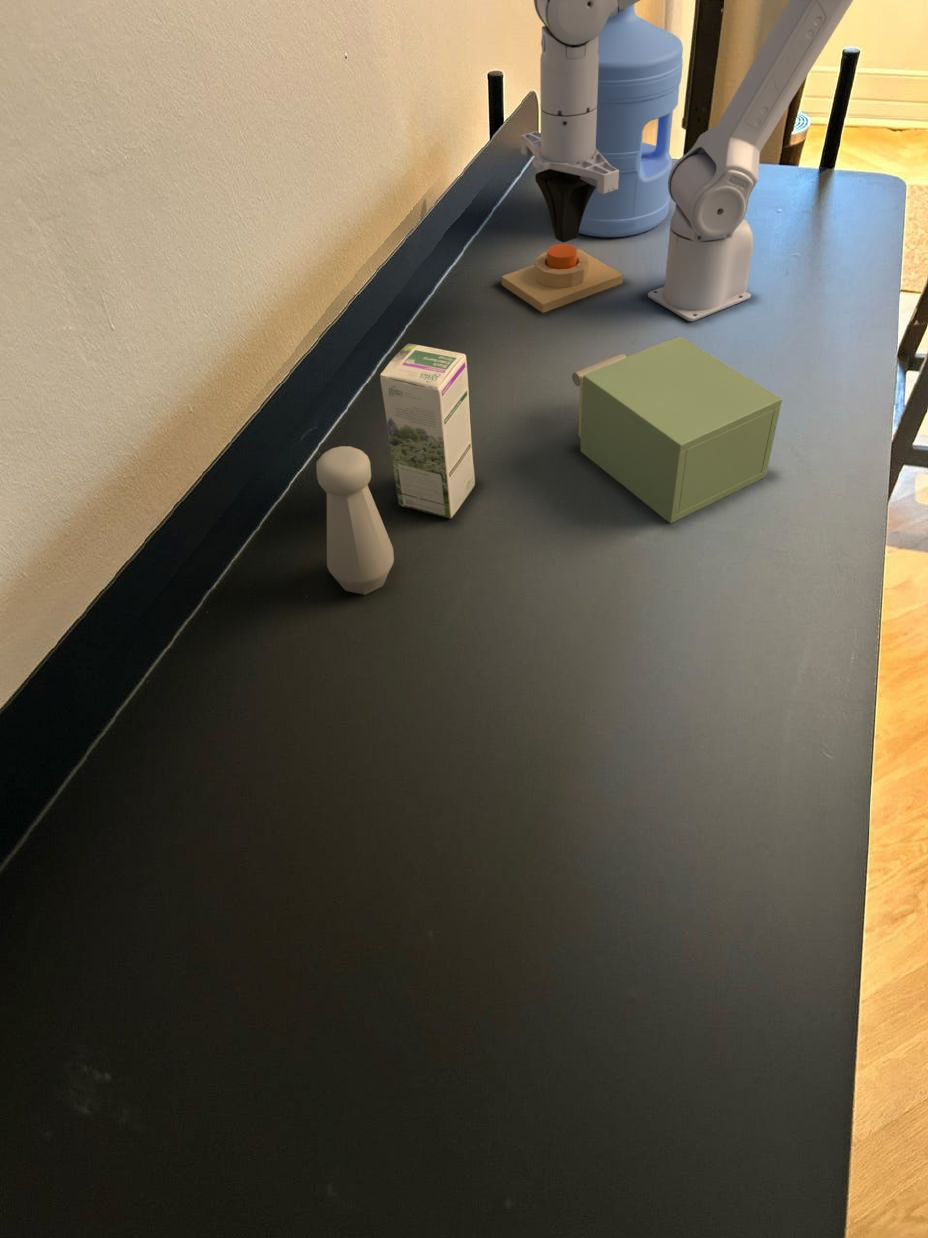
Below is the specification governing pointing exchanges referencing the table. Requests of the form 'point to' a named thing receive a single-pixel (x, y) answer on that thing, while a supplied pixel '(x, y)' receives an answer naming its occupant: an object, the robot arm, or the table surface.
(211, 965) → the table surface
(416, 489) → the syrup box
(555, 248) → the button
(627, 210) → the water jug
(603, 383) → the sage green panel box
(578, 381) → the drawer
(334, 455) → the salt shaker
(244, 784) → the table surface
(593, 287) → the block
